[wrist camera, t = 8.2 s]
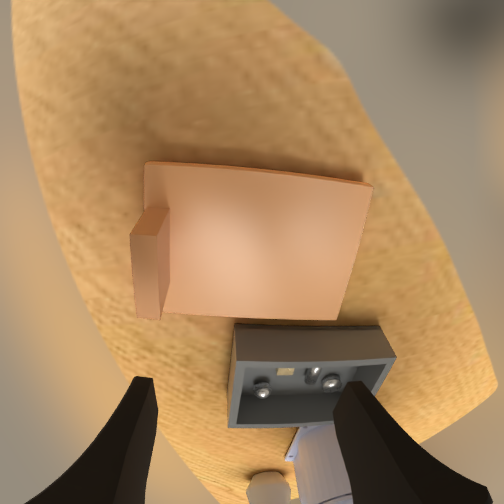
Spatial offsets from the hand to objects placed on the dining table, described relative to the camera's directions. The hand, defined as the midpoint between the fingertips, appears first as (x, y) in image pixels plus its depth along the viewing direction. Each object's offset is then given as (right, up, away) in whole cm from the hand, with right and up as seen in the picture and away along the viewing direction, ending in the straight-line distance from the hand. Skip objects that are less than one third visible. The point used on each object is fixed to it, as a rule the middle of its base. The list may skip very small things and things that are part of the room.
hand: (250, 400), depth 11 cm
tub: (+4, -3, +13) cm, 14 cm away
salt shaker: (+2, -25, +24) cm, 34 cm away
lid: (0, +6, +7) cm, 9 cm away
